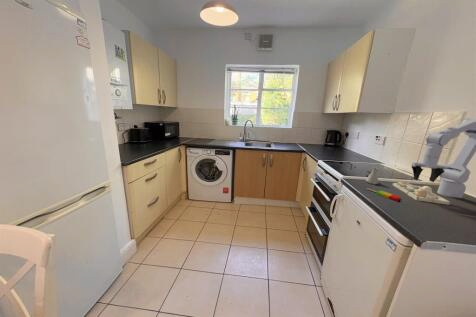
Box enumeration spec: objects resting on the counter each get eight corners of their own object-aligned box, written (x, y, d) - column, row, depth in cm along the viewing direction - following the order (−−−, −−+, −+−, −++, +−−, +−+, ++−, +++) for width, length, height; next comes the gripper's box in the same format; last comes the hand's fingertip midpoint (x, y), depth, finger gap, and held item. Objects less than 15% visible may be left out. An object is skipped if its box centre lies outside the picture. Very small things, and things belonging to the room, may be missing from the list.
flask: (381, 185, 115) (385, 170, 113) (368, 183, 117) (372, 168, 114) (375, 181, 122) (379, 167, 120) (363, 179, 123) (367, 165, 121)
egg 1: (421, 196, 100) (424, 188, 99) (427, 200, 96) (430, 191, 95) (411, 195, 101) (414, 186, 100) (417, 199, 97) (420, 189, 96)
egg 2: (426, 193, 106) (429, 185, 104) (432, 197, 101) (435, 188, 100) (417, 192, 106) (420, 184, 105) (422, 195, 102) (426, 187, 101)
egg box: (418, 189, 113) (419, 186, 113) (448, 205, 93) (450, 201, 93) (391, 186, 116) (392, 182, 115) (416, 201, 96) (417, 197, 95)
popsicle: (396, 202, 93) (397, 198, 93) (364, 190, 105) (365, 187, 105) (400, 200, 96) (401, 197, 96) (368, 189, 108) (369, 186, 108)
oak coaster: (408, 183, 123) (408, 182, 123) (416, 188, 116) (417, 187, 115) (394, 181, 125) (395, 180, 124) (402, 186, 117) (402, 185, 117)
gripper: (441, 156, 100) (432, 179, 103) (410, 153, 103) (403, 176, 106) (453, 159, 93) (443, 184, 97) (420, 155, 96) (412, 180, 99)
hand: (423, 180), depth 101 cm, fingers open, 7 cm apart
